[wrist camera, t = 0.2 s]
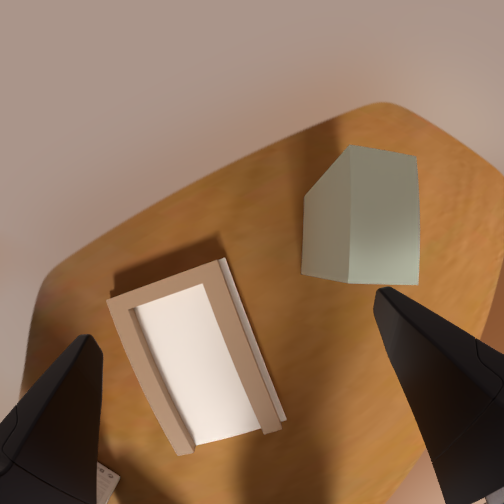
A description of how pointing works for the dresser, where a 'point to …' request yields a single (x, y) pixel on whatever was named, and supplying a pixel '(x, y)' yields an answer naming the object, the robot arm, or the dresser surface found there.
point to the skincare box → (105, 483)
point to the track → (197, 357)
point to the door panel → (364, 220)
